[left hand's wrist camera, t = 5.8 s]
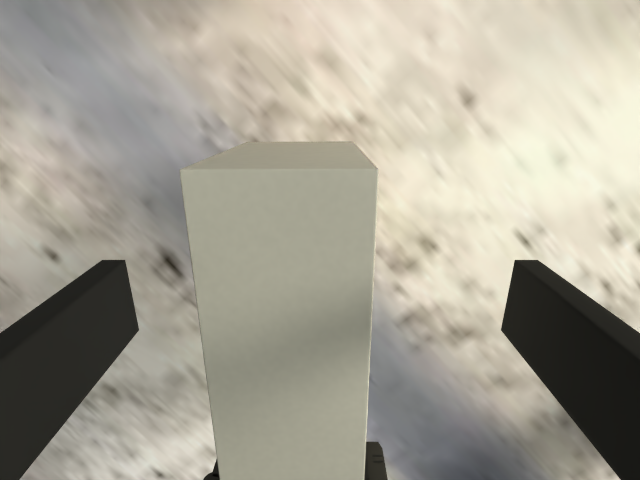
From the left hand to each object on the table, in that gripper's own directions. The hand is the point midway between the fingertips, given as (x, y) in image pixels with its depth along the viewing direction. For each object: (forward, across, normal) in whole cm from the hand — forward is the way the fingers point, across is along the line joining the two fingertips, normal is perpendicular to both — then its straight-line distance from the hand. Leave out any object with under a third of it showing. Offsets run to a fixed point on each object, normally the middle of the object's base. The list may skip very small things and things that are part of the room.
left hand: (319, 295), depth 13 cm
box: (+13, -1, -8) cm, 15 cm away
